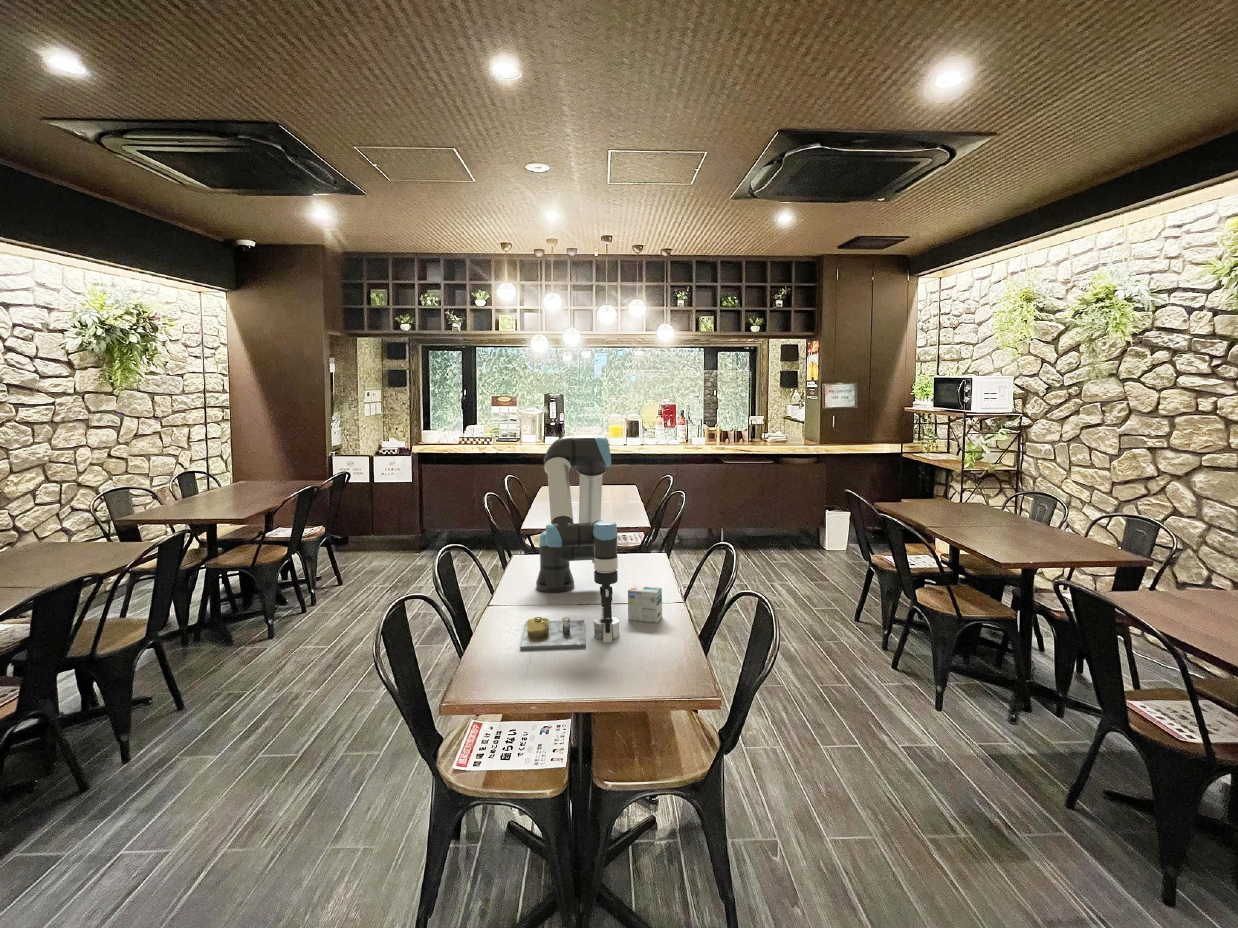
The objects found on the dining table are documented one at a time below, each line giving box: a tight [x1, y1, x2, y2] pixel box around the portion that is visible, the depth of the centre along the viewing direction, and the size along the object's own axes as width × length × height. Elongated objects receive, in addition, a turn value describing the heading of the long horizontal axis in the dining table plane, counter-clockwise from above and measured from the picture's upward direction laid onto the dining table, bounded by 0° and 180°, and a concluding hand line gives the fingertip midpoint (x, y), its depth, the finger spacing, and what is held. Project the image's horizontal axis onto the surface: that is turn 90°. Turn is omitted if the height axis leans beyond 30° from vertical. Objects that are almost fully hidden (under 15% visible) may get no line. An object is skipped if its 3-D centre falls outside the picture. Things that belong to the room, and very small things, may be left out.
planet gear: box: [593, 616, 620, 641], centre depth 226 cm, size 8×8×5 cm
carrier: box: [519, 616, 587, 651], centre depth 226 cm, size 22×20×6 cm
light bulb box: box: [627, 584, 663, 624], centre depth 242 cm, size 11×7×11 cm, turn 71°
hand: (606, 634), depth 226 cm, fingers open, 13 cm apart
